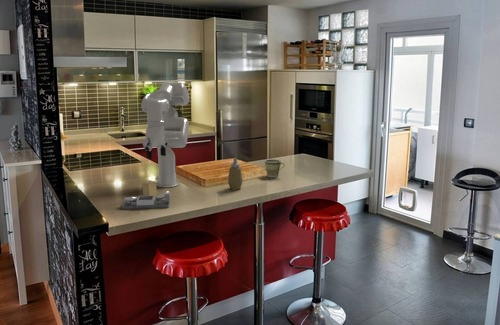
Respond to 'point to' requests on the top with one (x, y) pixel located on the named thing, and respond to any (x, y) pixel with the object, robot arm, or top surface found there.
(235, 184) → the squeeze bottle
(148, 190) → the beige rectangular block
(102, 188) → the top surface
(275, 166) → the ceramic cup
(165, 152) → the robot arm
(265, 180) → the top surface
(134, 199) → the shaft mount
